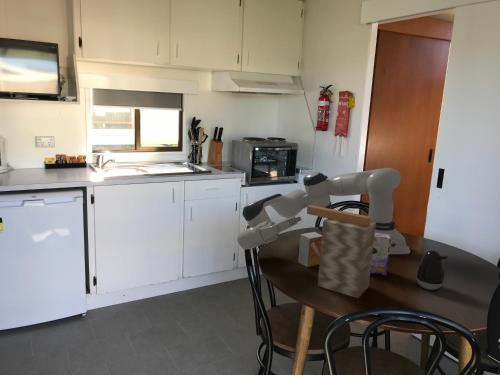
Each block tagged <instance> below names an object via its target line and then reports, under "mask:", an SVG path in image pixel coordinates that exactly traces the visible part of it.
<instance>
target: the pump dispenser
mask: <svg viewBox="0 0 500 375" xmlns="http://www.w3.org/2000/svg"><path fill="white" fill-rule="evenodd" d="M447 259H449V258H448V256H447V255H441V254H440V253H439V252H438V251H437V250H435V249H429V250H427V252H425V254H424V255H423V256H422V258H421V259H420V261H419V263H418V266H417V269H416V272H415V277H416V278H415V279H416V281H417V283H418V285H419V286H420V287H422V288H423V289H425V290H429V291H434V290H438V289H440V288H441V287H442V286H443V284H444V282H445V266H444V262H443V260H447Z"/></svg>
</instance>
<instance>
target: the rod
mask: <svg viewBox="0 0 500 375" xmlns="http://www.w3.org/2000/svg"><path fill="white" fill-rule="evenodd" d="M306 215H310V216H316V217H320V218H325V219H328V218H329V219H333V220H338V221H343V222H348V223H352V224H357V225H362V226H368V225H370V217H369V216H368V215H363V214H359V213H355V212H354V213H353V212H349V211H348V212H347V211H343V210H338V209H334V208H333V209H332V208H331V209H328V208H323V207H318V206H313V205H309V206H307V207H306Z"/></svg>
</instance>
